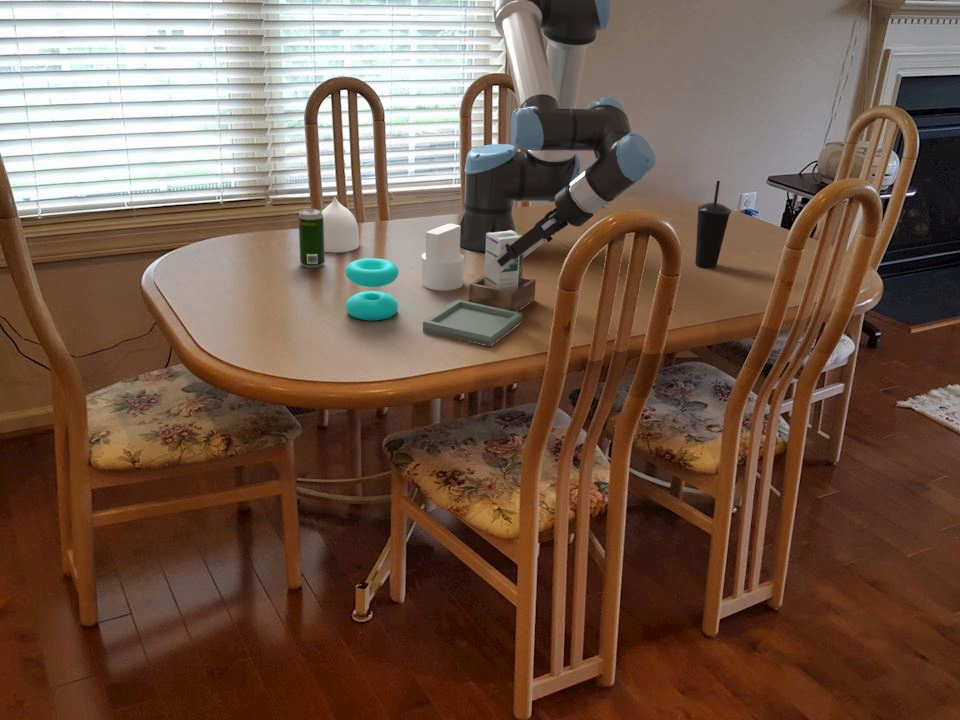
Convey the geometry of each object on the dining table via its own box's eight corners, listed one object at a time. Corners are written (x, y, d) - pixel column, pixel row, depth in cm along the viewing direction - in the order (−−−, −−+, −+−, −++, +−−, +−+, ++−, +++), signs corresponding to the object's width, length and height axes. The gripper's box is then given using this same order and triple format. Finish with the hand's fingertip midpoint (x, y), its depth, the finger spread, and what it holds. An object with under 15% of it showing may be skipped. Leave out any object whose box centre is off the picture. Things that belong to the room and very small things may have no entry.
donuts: (363, 253, 183) (407, 261, 179) (363, 301, 187) (407, 310, 183) (335, 266, 174) (381, 276, 171) (336, 316, 178) (381, 326, 175)
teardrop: (346, 255, 214) (346, 204, 209) (303, 248, 217) (302, 198, 212) (367, 242, 223) (366, 193, 219) (325, 236, 227) (324, 188, 222)
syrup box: (496, 309, 185) (500, 239, 180) (482, 299, 190) (485, 231, 184) (521, 305, 188) (525, 236, 182) (507, 296, 193) (511, 228, 187)
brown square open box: (468, 305, 187) (469, 284, 185) (490, 291, 195) (491, 270, 193) (514, 315, 183) (515, 293, 181) (534, 300, 191) (535, 279, 189)
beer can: (326, 267, 205) (325, 214, 200) (302, 269, 203) (300, 215, 198) (322, 260, 209) (320, 208, 204) (298, 261, 208) (296, 209, 203)
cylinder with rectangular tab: (447, 293, 193) (449, 237, 188) (412, 284, 197) (413, 229, 192) (471, 282, 200) (473, 228, 195) (436, 273, 204) (437, 220, 199)
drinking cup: (723, 272, 214) (736, 186, 206) (689, 268, 215) (701, 183, 207) (722, 262, 221) (735, 178, 213) (689, 259, 222) (701, 176, 214)
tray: (422, 331, 173) (423, 321, 172) (457, 308, 185) (457, 299, 184) (490, 347, 168) (490, 336, 167) (521, 322, 179) (522, 313, 179)
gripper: (570, 230, 163) (489, 295, 175) (615, 201, 183) (540, 261, 195) (544, 196, 163) (465, 263, 174) (592, 171, 183) (518, 232, 195)
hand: (504, 262), depth 185 cm, fingers open, 13 cm apart
